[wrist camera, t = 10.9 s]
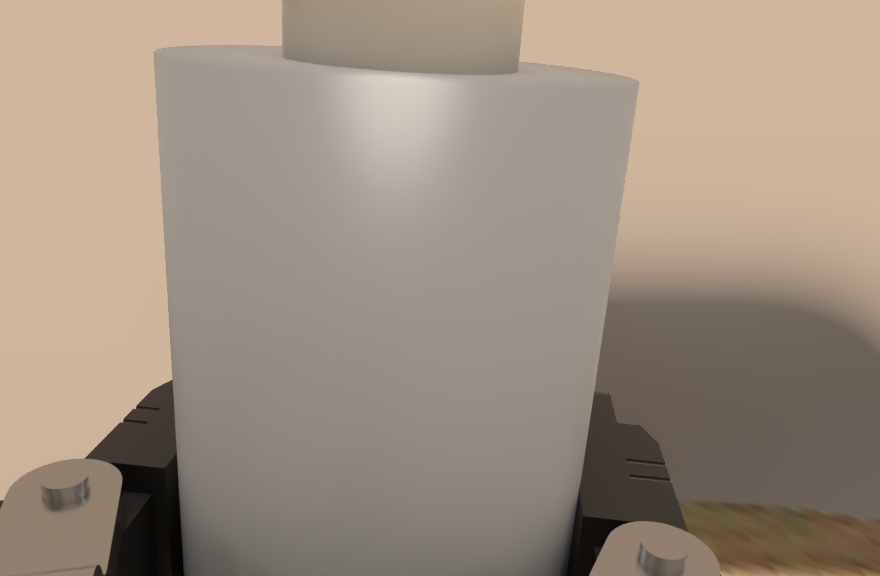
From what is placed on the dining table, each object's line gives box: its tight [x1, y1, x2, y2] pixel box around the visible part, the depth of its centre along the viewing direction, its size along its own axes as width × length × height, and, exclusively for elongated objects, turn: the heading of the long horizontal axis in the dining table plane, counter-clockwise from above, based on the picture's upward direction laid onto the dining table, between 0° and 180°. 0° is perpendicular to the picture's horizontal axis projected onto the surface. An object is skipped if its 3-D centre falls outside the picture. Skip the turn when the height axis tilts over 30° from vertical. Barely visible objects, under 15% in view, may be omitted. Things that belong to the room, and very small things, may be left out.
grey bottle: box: [154, 0, 639, 576], centre depth 11 cm, size 5×5×16 cm
